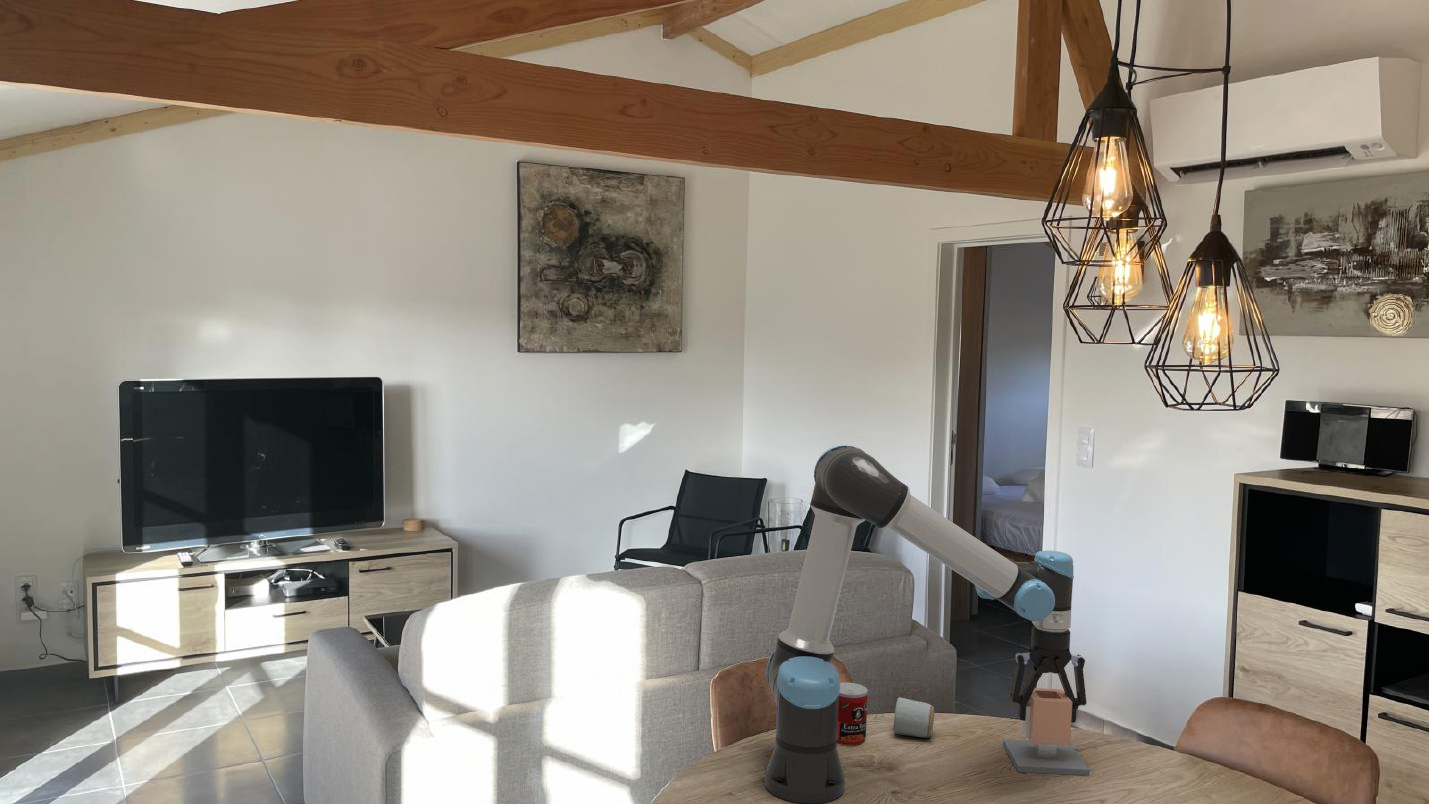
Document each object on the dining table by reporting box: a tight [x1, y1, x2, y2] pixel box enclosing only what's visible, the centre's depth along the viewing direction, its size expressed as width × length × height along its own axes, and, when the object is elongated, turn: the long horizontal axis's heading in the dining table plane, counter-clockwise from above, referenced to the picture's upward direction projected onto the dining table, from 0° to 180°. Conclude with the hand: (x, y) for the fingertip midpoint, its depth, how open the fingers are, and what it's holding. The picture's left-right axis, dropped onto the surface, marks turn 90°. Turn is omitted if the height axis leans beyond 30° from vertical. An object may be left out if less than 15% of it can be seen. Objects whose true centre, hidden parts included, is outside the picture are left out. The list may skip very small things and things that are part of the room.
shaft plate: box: [1002, 738, 1091, 777], centre depth 213 cm, size 14×14×1 cm
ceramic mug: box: [893, 696, 935, 739], centre depth 226 cm, size 11×8×8 cm
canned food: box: [837, 681, 869, 746], centre depth 221 cm, size 8×8×11 cm
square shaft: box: [1034, 744, 1057, 758], centre depth 213 cm, size 4×4×8 cm
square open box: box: [1028, 687, 1072, 745], centre depth 212 cm, size 8×8×9 cm
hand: (1046, 736), depth 213 cm, fingers closed on square open box, 8 cm apart
